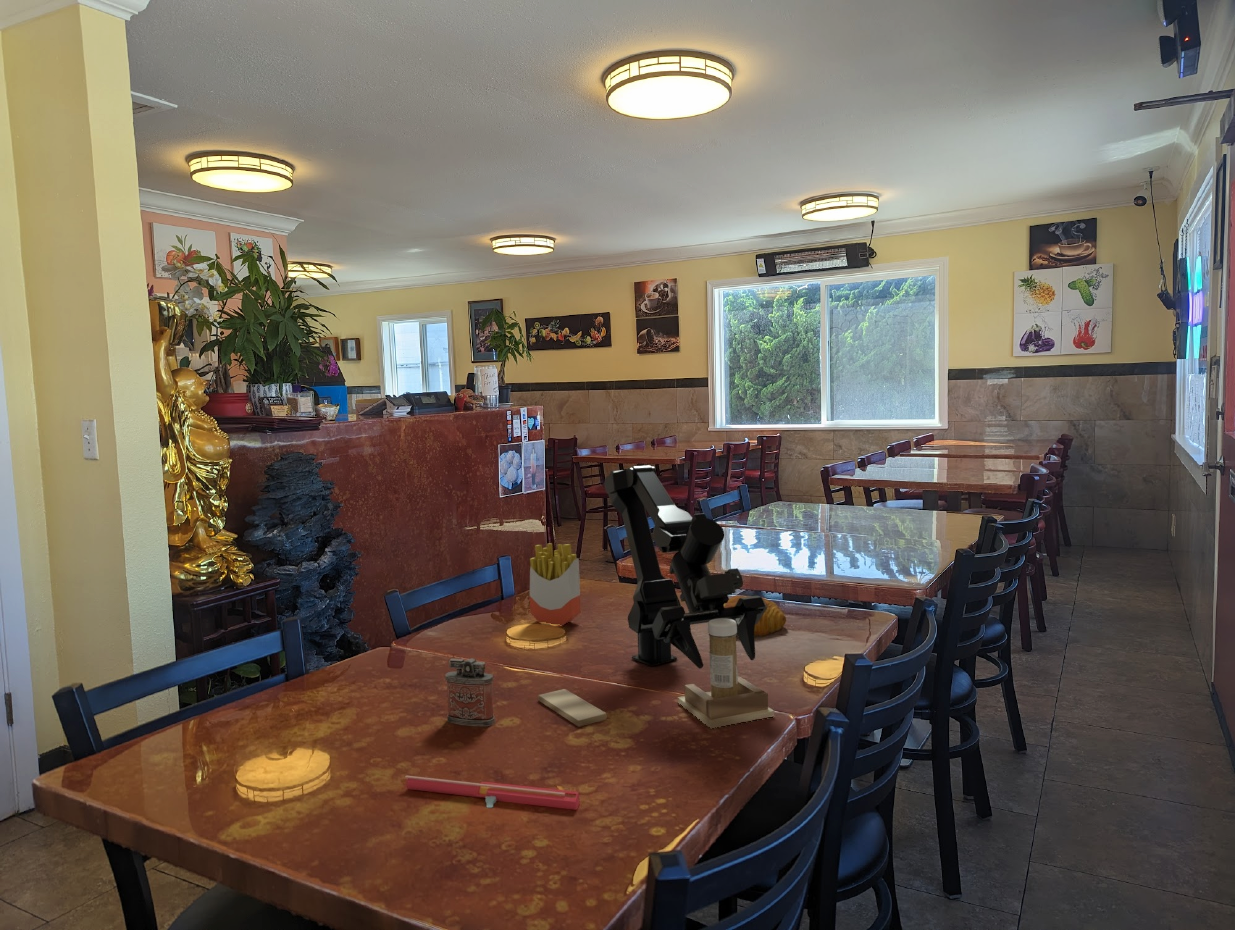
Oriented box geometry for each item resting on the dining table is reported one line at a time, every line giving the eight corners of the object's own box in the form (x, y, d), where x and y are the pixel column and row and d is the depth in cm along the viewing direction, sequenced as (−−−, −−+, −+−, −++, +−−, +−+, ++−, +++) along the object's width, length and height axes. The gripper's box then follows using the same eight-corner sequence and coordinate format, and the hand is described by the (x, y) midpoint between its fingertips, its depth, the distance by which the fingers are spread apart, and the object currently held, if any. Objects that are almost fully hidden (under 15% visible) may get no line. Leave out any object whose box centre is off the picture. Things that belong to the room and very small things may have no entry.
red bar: (572, 825, 101) (584, 796, 105) (570, 812, 101) (581, 783, 105) (398, 804, 108) (415, 778, 112) (394, 791, 108) (412, 765, 112)
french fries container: (571, 628, 185) (568, 547, 184) (529, 623, 190) (526, 545, 189) (581, 622, 189) (578, 544, 188) (540, 618, 194) (537, 542, 193)
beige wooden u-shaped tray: (677, 703, 137) (677, 682, 137) (737, 692, 141) (736, 672, 141) (711, 729, 126) (710, 706, 126) (774, 717, 130) (774, 695, 130)
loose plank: (538, 703, 141) (538, 695, 141) (565, 697, 144) (564, 688, 143) (578, 729, 129) (578, 720, 129) (606, 722, 132) (606, 713, 131)
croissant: (733, 626, 191) (728, 591, 191) (795, 626, 181) (790, 589, 182) (700, 640, 179) (695, 603, 179) (765, 640, 170) (760, 601, 170)
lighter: (498, 719, 133) (495, 658, 132) (488, 727, 130) (485, 664, 129) (454, 714, 136) (451, 654, 135) (443, 722, 132) (440, 661, 132)
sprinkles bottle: (743, 701, 134) (741, 619, 133) (730, 710, 131) (728, 626, 130) (718, 696, 137) (715, 615, 136) (704, 705, 133) (702, 622, 132)
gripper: (656, 558, 132) (688, 645, 123) (760, 547, 139) (798, 629, 129) (639, 597, 140) (668, 681, 131) (738, 585, 147) (772, 664, 137)
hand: (727, 663), depth 132 cm, fingers open, 9 cm apart
